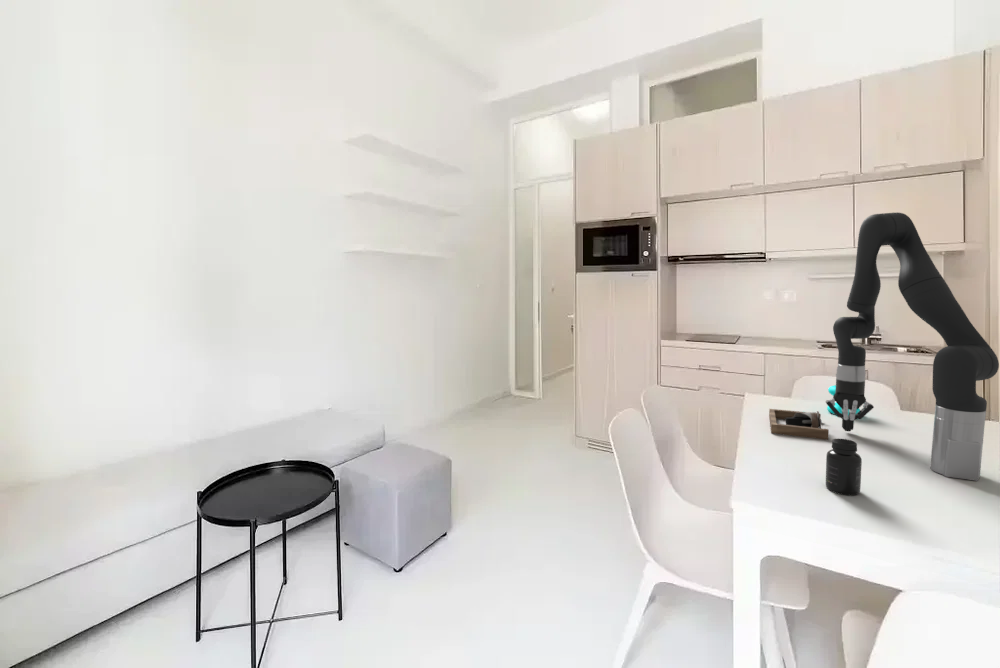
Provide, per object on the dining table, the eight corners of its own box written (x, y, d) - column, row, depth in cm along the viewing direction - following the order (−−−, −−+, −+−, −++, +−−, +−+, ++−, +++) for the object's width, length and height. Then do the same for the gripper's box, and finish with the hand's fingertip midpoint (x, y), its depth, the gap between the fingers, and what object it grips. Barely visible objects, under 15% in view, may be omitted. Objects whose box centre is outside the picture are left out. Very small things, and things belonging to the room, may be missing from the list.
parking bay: (828, 439, 147) (828, 430, 147) (771, 433, 154) (771, 424, 154) (819, 421, 166) (820, 413, 165) (769, 416, 173) (769, 408, 173)
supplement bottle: (845, 483, 116) (848, 436, 115) (867, 495, 109) (870, 446, 108) (818, 484, 116) (820, 437, 115) (838, 496, 109) (841, 447, 108)
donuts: (857, 391, 167) (824, 387, 174) (855, 419, 168) (823, 413, 176) (865, 387, 173) (833, 383, 181) (863, 413, 174) (831, 408, 182)
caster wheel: (786, 430, 165) (820, 430, 160) (787, 432, 155) (823, 432, 150) (783, 411, 166) (817, 410, 161) (784, 412, 156) (820, 411, 151)
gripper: (827, 379, 151) (824, 431, 153) (879, 382, 145) (875, 436, 147) (823, 374, 157) (821, 425, 159) (873, 377, 151) (869, 429, 153)
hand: (847, 430), depth 153 cm, fingers closed
